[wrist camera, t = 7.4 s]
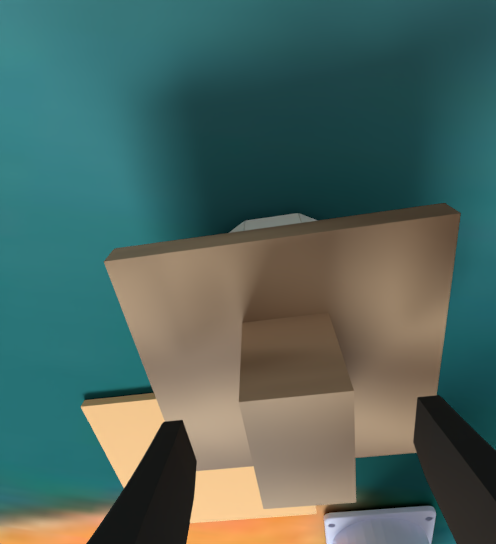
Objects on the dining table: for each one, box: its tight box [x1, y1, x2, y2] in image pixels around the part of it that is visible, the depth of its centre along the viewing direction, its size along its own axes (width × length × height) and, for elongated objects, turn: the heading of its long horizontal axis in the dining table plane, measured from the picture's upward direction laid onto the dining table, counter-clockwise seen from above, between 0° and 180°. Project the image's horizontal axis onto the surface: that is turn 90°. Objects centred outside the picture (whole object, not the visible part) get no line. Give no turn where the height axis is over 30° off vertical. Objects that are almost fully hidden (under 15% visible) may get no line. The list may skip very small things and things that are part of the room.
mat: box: [81, 393, 317, 523], centre depth 24 cm, size 13×13×1 cm
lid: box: [104, 203, 461, 509], centre depth 12 cm, size 11×11×4 cm
